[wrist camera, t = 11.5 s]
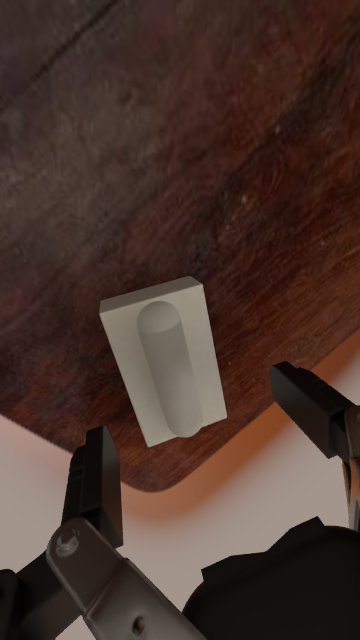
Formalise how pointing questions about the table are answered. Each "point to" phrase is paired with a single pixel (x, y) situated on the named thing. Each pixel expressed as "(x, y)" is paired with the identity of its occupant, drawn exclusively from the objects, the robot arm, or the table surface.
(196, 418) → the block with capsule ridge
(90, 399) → the table surface
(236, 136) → the table surface
